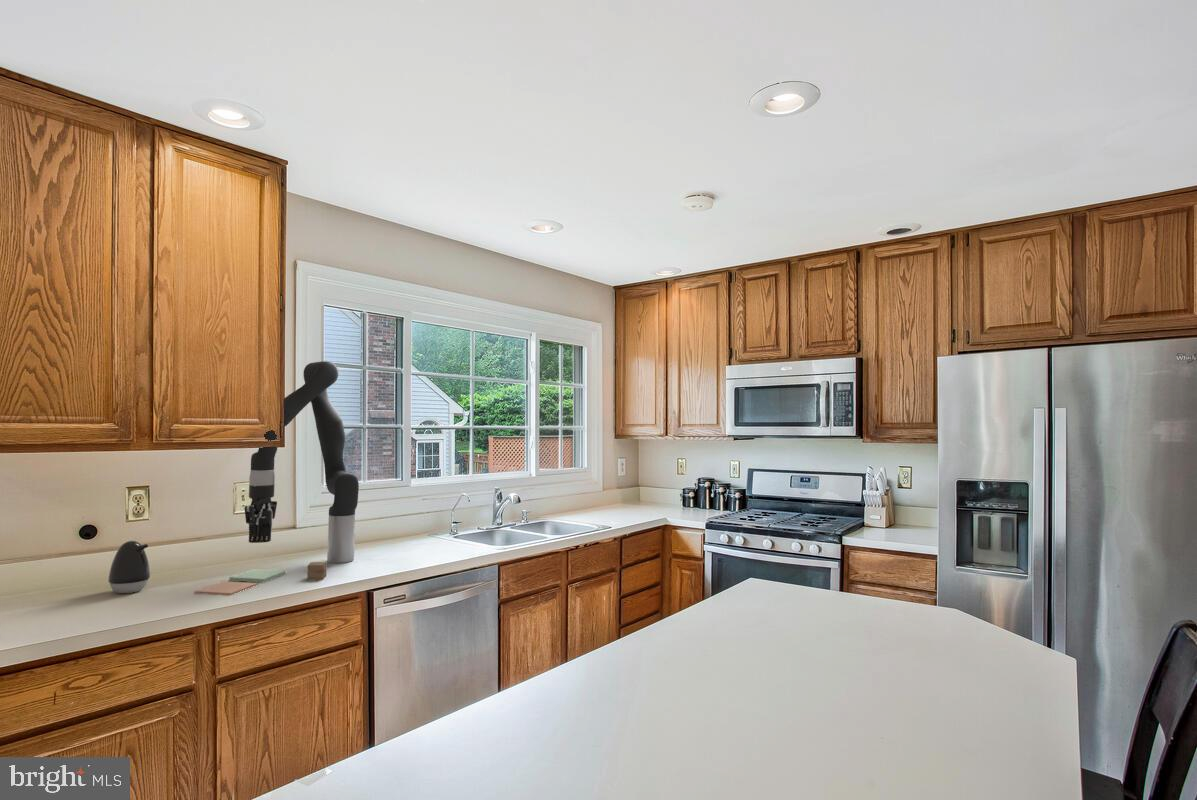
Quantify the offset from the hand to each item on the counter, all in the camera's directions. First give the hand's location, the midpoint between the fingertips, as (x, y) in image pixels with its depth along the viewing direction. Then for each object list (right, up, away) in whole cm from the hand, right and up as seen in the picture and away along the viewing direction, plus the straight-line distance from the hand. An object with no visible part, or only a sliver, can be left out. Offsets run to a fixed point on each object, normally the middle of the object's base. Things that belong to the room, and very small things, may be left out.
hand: (260, 534), depth 214 cm
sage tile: (0, -14, -1) cm, 14 cm away
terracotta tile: (-2, -14, -16) cm, 21 cm away
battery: (0, -3, 0) cm, 3 cm away
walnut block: (+19, -15, 0) cm, 24 cm away
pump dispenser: (-29, -13, -20) cm, 38 cm away
